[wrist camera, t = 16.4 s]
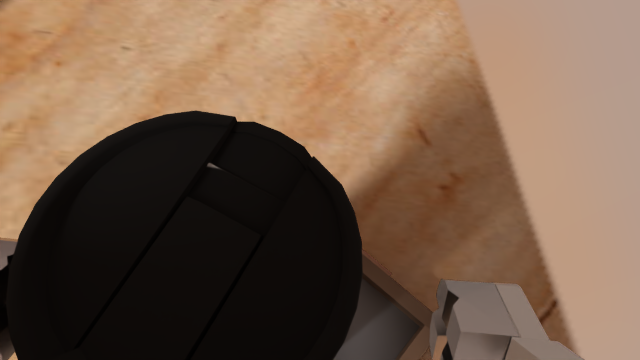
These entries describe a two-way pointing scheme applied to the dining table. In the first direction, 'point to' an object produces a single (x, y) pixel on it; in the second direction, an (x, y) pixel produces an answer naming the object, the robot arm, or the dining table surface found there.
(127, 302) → the travel mug
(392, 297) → the square tray
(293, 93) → the dining table surface
